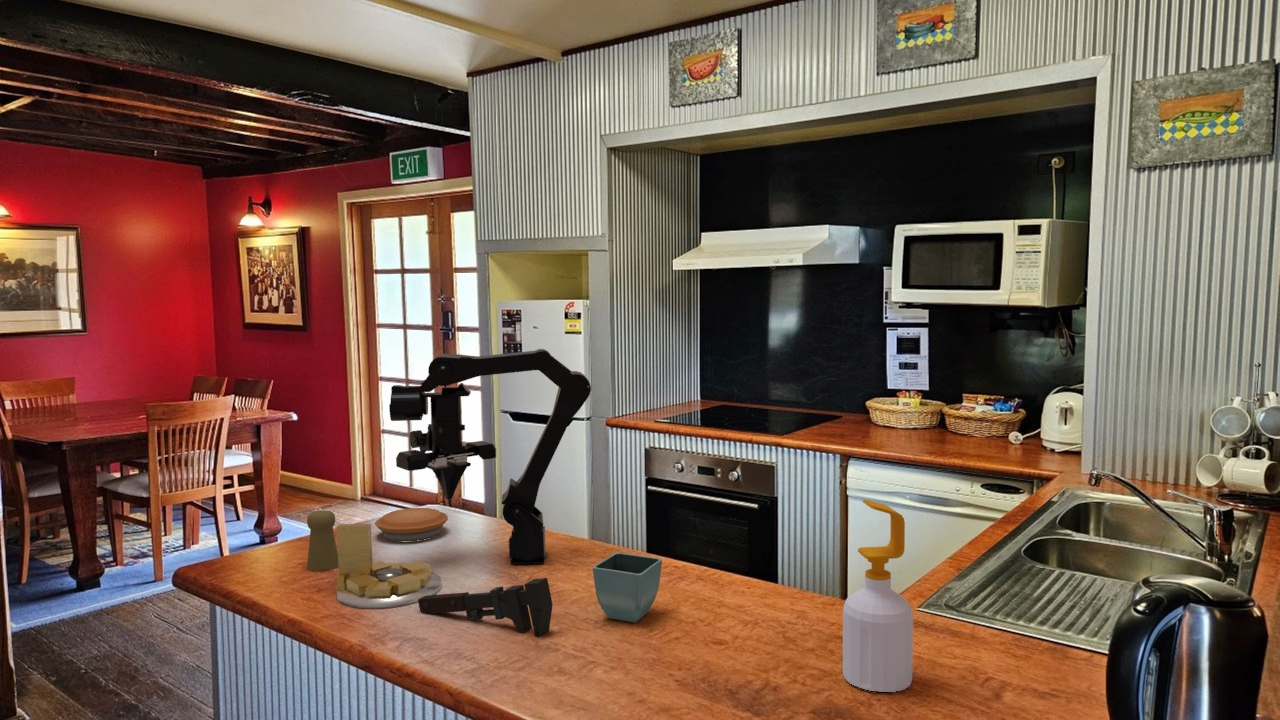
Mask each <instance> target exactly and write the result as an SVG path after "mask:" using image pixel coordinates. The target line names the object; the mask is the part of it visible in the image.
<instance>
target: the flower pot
mask: <svg viewBox="0 0 1280 720" xmlns="http://www.w3.org/2000/svg"><path fill="white" fill-rule="evenodd" d="M662 564H663V559H662V558H659V557H652V556H646V555H645V556H644V555H637V554H631V553H625V552H624V553H623V552H615V553H612V554H610V556H609V555H608V557H606V558H605V559H604V560H602V561H600V562H598V563H597V564H595V565H594V566H592V574H593V581H594V582H593V583H594V588H595V594H596V598H597V601H598V604H599V606H600V608H601V610H602V611H603V613H604V614H605V615H606V617H607V618H608V619H611V620H618V621H623V622H629V623H637V622H638V621H640V619H642V618H643V617H644V616H645V615H647V614H648V613H649V611H650V610H651V608H652V606H653V604H654V603H655V600H656V597H657V595H658V591H659V587H660V582H661V581H660V580H661V572H662Z"/></svg>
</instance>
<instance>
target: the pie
mask: <svg viewBox="0 0 1280 720" xmlns="http://www.w3.org/2000/svg"><path fill="white" fill-rule="evenodd" d="M448 520H449V517H448V514H447V513H445V512H442V511H440V510H439V509H436V508H431V507H410V508H409V507H408V508H403V509H397V510H393V511H390V512H387V513H385V514H384V515H383V516H382V517H380V518H378V519H377V520H376V521H375V522H374V525H375V526H376V528H377V529H378V530H380V531H381V533H382V534H383V535H384V536H385V538H386V539H387V540H388V539H389V541H390V540H391V542H394V541H417V540H423V541H425V540H424V539H427V540H429V539H428V538H431V539H433V538H435V537H437V536H438V535H439V534H440V532H441V530H442V529H443V527H444V524H446V522H447V521H448ZM434 536H435V537H434ZM432 537H433V538H432ZM417 542H418V541H417Z"/></svg>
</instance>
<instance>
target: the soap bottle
mask: <svg viewBox="0 0 1280 720" xmlns="http://www.w3.org/2000/svg"><path fill="white" fill-rule="evenodd" d="M862 503H863V504H865V506H867V507H869V508H870V509H872V510H875V511H878V512H882V513H886V514H889V516H890V538H889V543H888V544H887V545H884V546H864V547H858V548H857V552H858V553H859V555H861V556H862V557H863V558H864V559H866V560H867V562H869V563H871V568H869V569H868V568H867V569H866V570H865V571H864V572H865V573H864V574H865V575H864V580H865V581H864V586H863V588H860V589H858V590H856V591H854V592H852V594H850V595H848V597H847V598H846V599H845V602H844V605H843V607H842V674H843V677H844V680H845V679H846V680H845V681H846V682H848V683H849V684H850V685H851V684H852V685H851V686H853V685H854V686H853V687H855V686H857V687H859V688H858V689H860V688H862V689H865V690H864V691H866V690H869V691H868V692H870V691H879V692H893V693H896V691H898V692H901V691H905V689H908V688H909V687H910V686H911V685H912V681H913V657H914V656H913V652H914V650H913V649H914V648H913V645H914V643H913V642H914V637H913V636H914V612H913V609H912V606H911V605H910V602H909V601H908V600H907V599H905V597H904V596H903V595H901V594H900V593H898V592H896V591H895V590H893V589H892V588H891V587H892V586H891V585H892V583H891V581H892V579H891V578H892V577H891V575H892V573H891V572H890V571H889V570H887V569H885V565H886V564H888V563H889V561H890V560H891V559H892V560H893V559H899V558H901V557H902V556H903V555H904V553H905V538H906V537H905V536H906V535H905V533H906V531H905V530H906V528H905V527H906V526H905V525H906V522H905V518H904V517H903V515H902V514H900V513H899V512H898V511H896V510H894V509H893V508H892V507H891V506H888V505H887V504H884V503H880V502H878V501H872V500H870V499H865V498H864V499H863V500H862ZM857 687H856V688H857ZM862 689H861V690H862Z"/></svg>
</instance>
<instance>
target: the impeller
mask: <svg viewBox="0 0 1280 720" xmlns="http://www.w3.org/2000/svg"><path fill="white" fill-rule="evenodd" d="M376 574H377V579H378V580H379V582H387V579H391V578H394V577H398V576H402V570H401V569H397V568H389V569H384V570H380V571H378V572H377V573H376ZM431 575H432V578H431V579H430V580H429V582H428V583H427V584H426V586H421V588H420V589H417V590H413V591H410V592H406V593H403V594H399V595H398V594H396V593H394V592H393V593H392V594H391V596H365V594H361V595H357V594H355V593H353V592H351V591H349V590H348V589H347V584H345V575H339V574H337V576H336V598H337V602H339V603H341V604H343V605H345V606H347V607H350V608H356V609H363V610H364V609H365V610H378V609H380V610H384V609H393V608H400V607H404V606H409V605H413V604H417V603H418V599H420V598H422V597H424V596H428V595H437V594H438V593H439V591H440V590H441V588H442V578H441V576H440V575H439V574H437V573H435V572H433V571H431Z"/></svg>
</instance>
